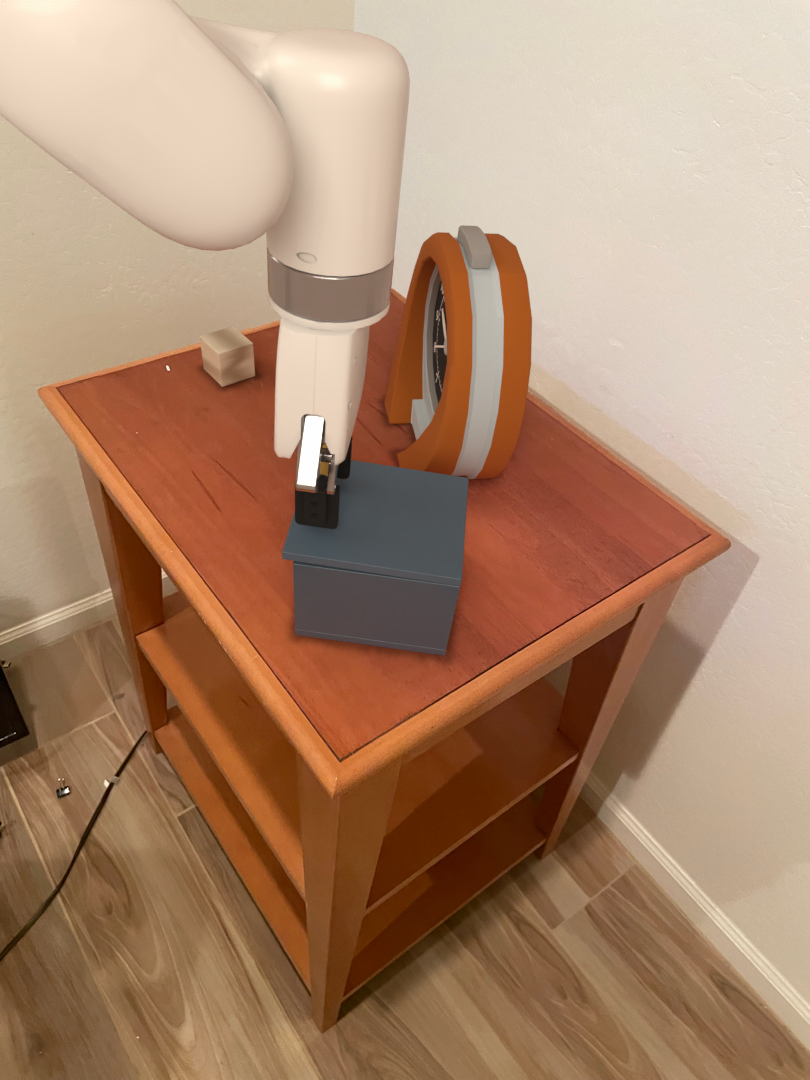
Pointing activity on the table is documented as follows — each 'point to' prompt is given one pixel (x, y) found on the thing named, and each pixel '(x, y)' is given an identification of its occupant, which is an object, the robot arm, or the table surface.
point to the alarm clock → (463, 355)
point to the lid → (390, 525)
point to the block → (227, 356)
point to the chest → (372, 608)
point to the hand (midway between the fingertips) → (323, 496)
